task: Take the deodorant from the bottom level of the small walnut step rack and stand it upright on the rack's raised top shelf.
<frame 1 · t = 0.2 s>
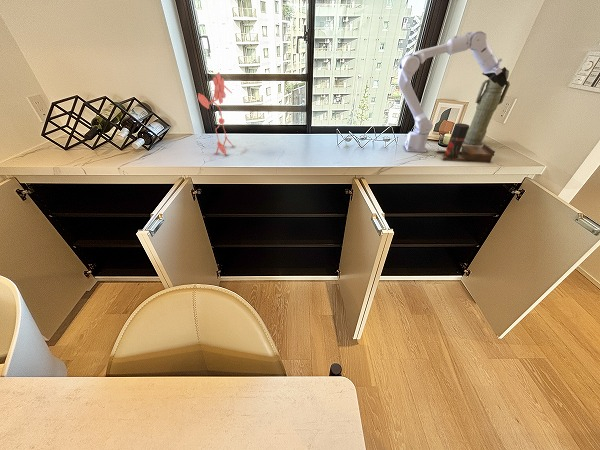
hand: (500, 83, 113), 31 cm above the table, tool tilted 45°, fingers open, 7 cm apart
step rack: (462, 157, 126), on the table
figurine: (232, 151, 132), on the table
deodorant: (450, 156, 126), resting on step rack
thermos: (472, 142, 143), on the table
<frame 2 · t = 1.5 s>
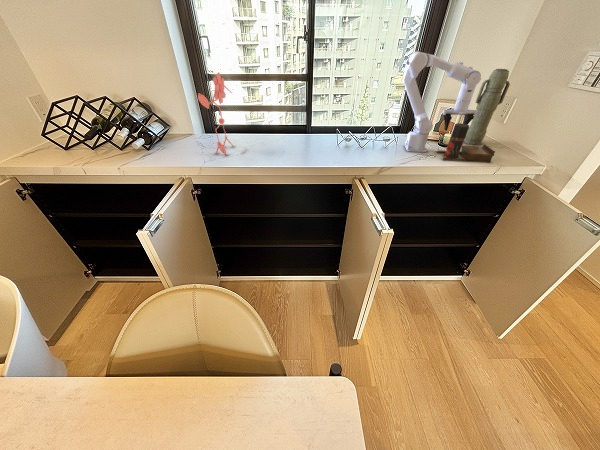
hand: (453, 130, 126), 10 cm above the table, tool pointing down, fingers open, 7 cm apart
nothing on the table moved.
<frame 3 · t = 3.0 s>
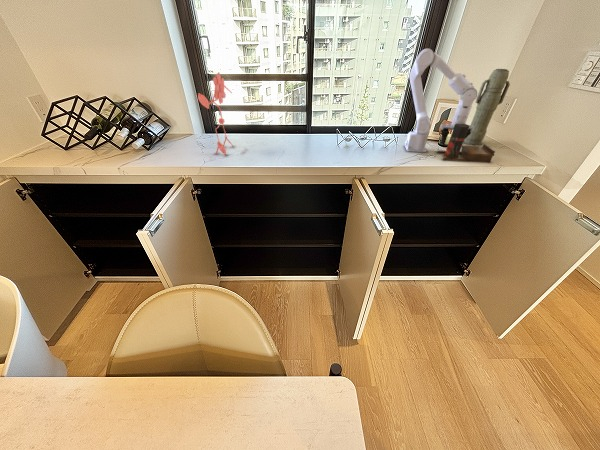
hand: (450, 144, 127), 4 cm above the table, tool pointing down, fingers open, 7 cm apart
nothing on the table moved.
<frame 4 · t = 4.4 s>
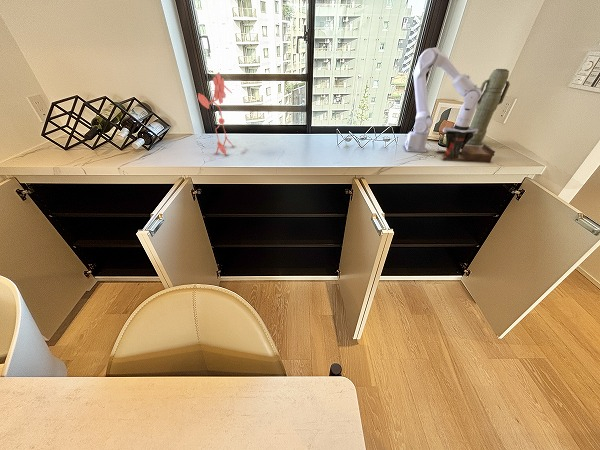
hand: (453, 147, 124), 4 cm above the table, tool pointing down, fingers closed on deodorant, 6 cm apart
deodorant: (450, 157, 127), resting on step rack, touching gripper
everything else where it was.
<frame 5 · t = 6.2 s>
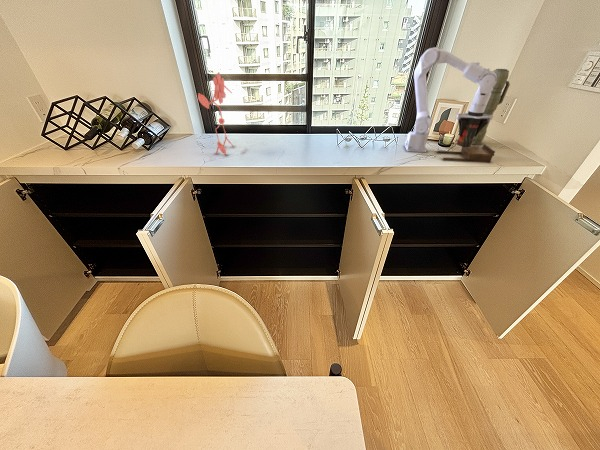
hand: (466, 135, 120), 10 cm above the table, tool pointing down, fingers closed on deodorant, 6 cm apart
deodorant: (463, 145, 122), point 6 cm above the table, touching gripper
everything else where it was.
when the fingers open (8 cm above the table, at t = 8.1 s): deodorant stays where it is, resting on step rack.
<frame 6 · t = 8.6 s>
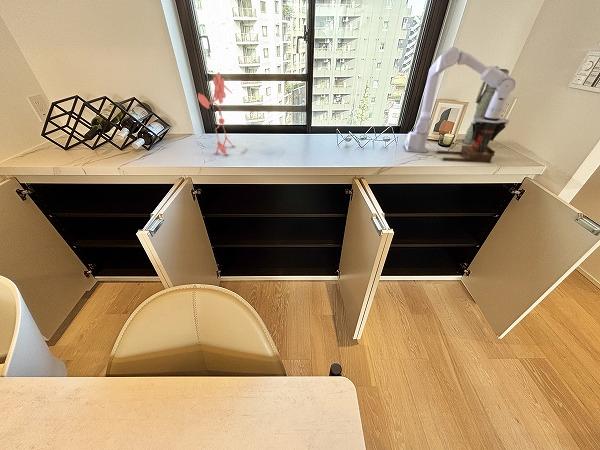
hand: (482, 139, 120), 9 cm above the table, tool pointing down, fingers open, 7 cm apart
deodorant: (477, 150, 123), point 4 cm above the table, touching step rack
everything else where it was.
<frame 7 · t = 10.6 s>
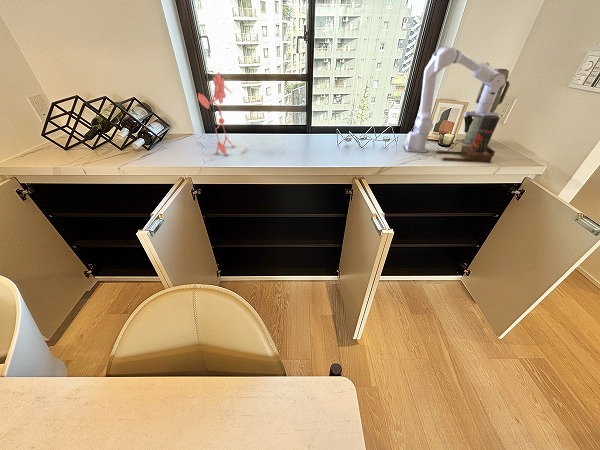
hand: (473, 132, 126), 10 cm above the table, tool pointing down, fingers open, 7 cm apart
nothing on the table moved.
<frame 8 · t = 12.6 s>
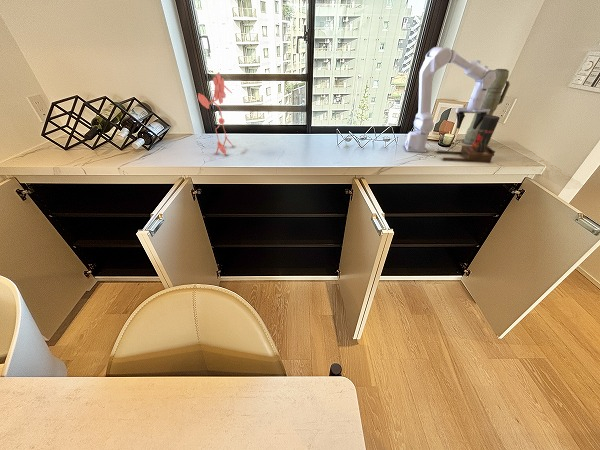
hand: (465, 128, 129), 10 cm above the table, tool pointing down, fingers open, 7 cm apart
nothing on the table moved.
at the end: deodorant 0.0 cm from the target spot on the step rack, point 3.8 cm above the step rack's base; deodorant tilted 0°; the gripper is holding nothing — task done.
